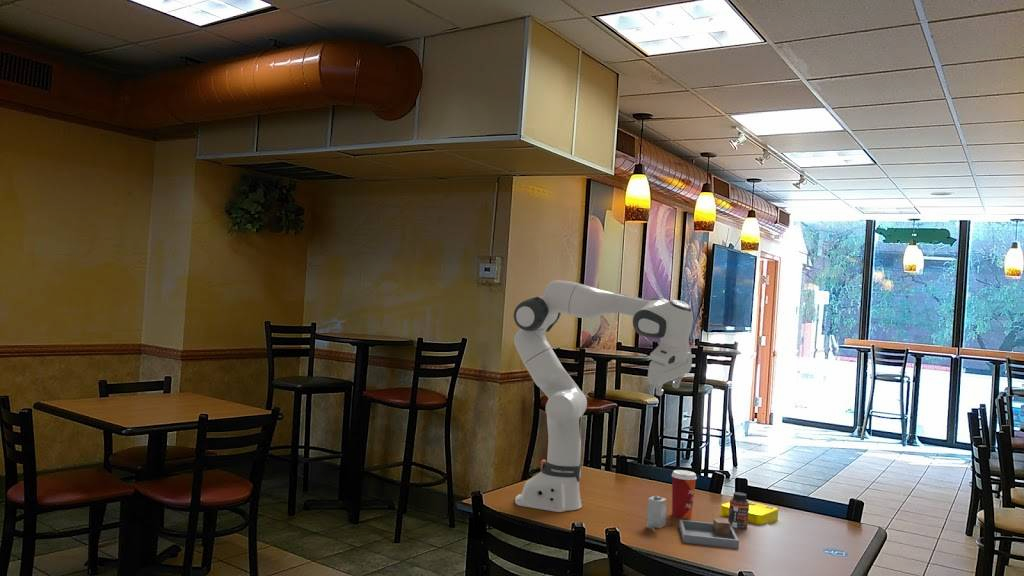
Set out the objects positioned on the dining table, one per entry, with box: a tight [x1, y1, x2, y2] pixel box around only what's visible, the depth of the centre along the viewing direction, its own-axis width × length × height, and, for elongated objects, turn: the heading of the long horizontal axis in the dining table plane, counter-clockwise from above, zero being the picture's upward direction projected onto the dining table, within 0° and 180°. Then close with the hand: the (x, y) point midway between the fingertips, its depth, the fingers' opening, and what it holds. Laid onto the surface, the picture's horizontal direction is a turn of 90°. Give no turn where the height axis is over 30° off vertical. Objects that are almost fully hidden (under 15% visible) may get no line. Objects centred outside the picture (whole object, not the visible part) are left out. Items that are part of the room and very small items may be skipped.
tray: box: [678, 519, 740, 549], centre depth 222 cm, size 16×16×3 cm
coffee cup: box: [671, 469, 698, 520], centre depth 244 cm, size 8×8×15 cm
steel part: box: [646, 495, 668, 530], centre depth 232 cm, size 4×4×10 cm
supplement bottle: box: [727, 491, 749, 531], centre depth 236 cm, size 6×6×11 cm
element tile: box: [719, 499, 779, 525], centre depth 250 cm, size 15×15×5 cm
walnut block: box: [712, 518, 731, 537], centre depth 226 cm, size 4×4×4 cm
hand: (667, 391), depth 238 cm, fingers open, 8 cm apart
